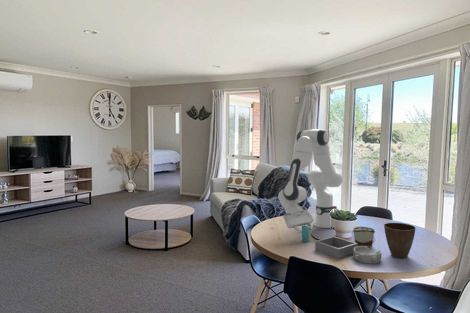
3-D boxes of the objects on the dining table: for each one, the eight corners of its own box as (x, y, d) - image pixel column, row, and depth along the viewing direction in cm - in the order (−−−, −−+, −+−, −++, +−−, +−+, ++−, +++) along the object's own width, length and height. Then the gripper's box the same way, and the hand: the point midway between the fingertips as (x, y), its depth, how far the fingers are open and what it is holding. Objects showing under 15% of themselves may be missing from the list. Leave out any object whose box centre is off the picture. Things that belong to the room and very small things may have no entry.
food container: (371, 243, 195) (371, 226, 195) (374, 246, 189) (375, 229, 188) (350, 242, 196) (350, 226, 196) (352, 246, 190) (352, 229, 190)
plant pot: (378, 256, 175) (379, 226, 174) (389, 248, 185) (390, 220, 184) (409, 263, 164) (410, 232, 163) (418, 255, 175) (419, 226, 173)
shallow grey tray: (333, 244, 194) (333, 236, 193) (357, 252, 181) (357, 243, 180) (315, 250, 185) (315, 241, 184) (338, 258, 172) (338, 249, 171)
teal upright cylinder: (305, 239, 203) (305, 225, 203) (310, 241, 200) (310, 226, 199) (300, 240, 201) (300, 226, 200) (305, 242, 197) (305, 228, 197)
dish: (358, 252, 180) (358, 243, 180) (384, 258, 172) (385, 249, 171) (348, 260, 169) (348, 251, 169) (376, 267, 160) (376, 257, 160)
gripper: (284, 211, 199) (296, 231, 192) (308, 207, 210) (320, 225, 203) (279, 217, 203) (290, 237, 196) (303, 212, 214) (314, 231, 207)
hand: (305, 231), depth 199 cm, fingers open, 8 cm apart
